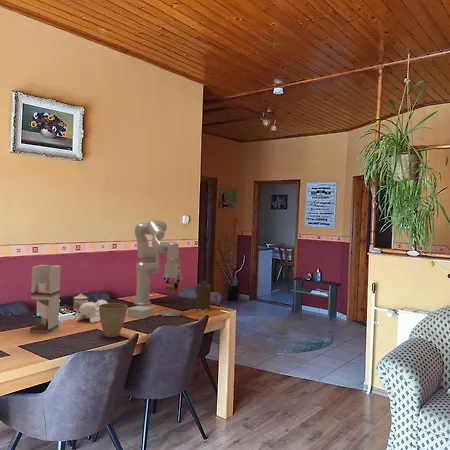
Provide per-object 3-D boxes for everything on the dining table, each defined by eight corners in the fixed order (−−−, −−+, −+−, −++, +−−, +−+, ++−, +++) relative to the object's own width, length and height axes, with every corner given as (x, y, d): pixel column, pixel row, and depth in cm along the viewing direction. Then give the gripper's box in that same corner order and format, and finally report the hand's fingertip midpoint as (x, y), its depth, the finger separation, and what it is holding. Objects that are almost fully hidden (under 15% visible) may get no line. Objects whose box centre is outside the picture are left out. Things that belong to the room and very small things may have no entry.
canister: (211, 308, 311) (212, 280, 310) (209, 311, 300) (210, 282, 300) (196, 307, 312) (197, 280, 312) (193, 310, 301) (195, 281, 301)
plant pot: (99, 340, 218) (100, 309, 218) (96, 332, 232) (97, 303, 232) (128, 338, 224) (129, 307, 224) (123, 330, 238) (124, 302, 238)
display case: (39, 326, 240) (41, 264, 240) (58, 327, 240) (60, 265, 239) (29, 332, 229) (32, 266, 228) (49, 332, 228) (51, 267, 228)
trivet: (154, 315, 280) (154, 313, 280) (166, 311, 294) (166, 309, 294) (174, 318, 274) (174, 316, 274) (185, 313, 288) (185, 312, 288)
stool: (169, 292, 288) (170, 282, 288) (177, 293, 285) (177, 283, 285) (165, 293, 282) (165, 283, 282) (173, 294, 280) (173, 284, 280)
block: (127, 316, 274) (127, 308, 274) (138, 313, 285) (138, 305, 285) (143, 318, 269) (143, 310, 269) (153, 315, 280) (154, 307, 280)
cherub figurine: (113, 301, 270) (93, 302, 251) (110, 320, 268) (91, 324, 250) (95, 298, 274) (75, 300, 255) (93, 318, 273) (72, 321, 254)
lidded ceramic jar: (69, 311, 282) (70, 293, 282) (79, 309, 290) (80, 292, 290) (83, 313, 277) (84, 295, 277) (93, 311, 285) (94, 293, 285)
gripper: (186, 261, 284) (185, 288, 284) (164, 260, 291) (163, 286, 291) (181, 262, 277) (180, 290, 277) (158, 260, 284) (157, 287, 284)
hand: (171, 287), depth 284 cm, fingers closed on stool, 6 cm apart
